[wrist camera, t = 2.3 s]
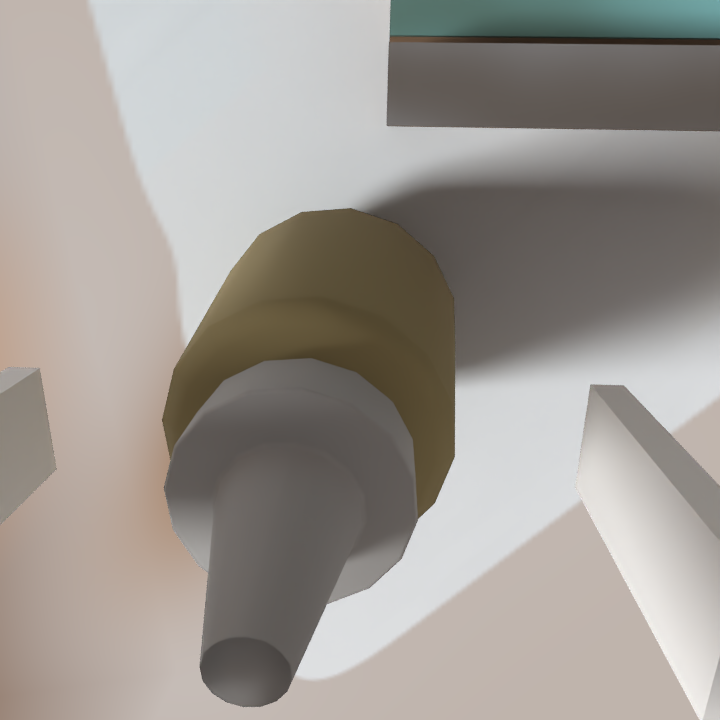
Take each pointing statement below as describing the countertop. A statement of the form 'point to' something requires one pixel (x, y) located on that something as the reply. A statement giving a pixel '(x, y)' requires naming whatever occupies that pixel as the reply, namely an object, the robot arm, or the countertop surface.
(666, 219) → the countertop surface
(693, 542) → the robot arm
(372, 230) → the squeeze bottle
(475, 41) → the dock
